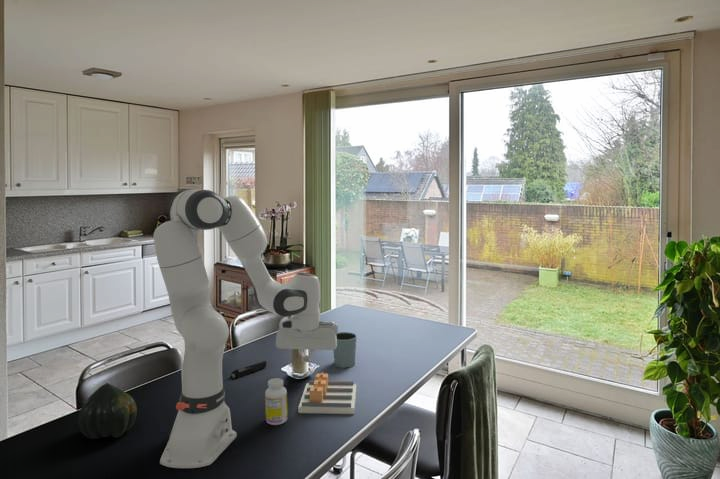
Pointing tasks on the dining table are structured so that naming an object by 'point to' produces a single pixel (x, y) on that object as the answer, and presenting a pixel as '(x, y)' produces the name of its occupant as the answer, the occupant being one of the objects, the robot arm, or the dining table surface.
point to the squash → (107, 413)
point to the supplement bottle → (276, 402)
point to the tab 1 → (322, 377)
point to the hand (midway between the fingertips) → (306, 361)
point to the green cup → (345, 350)
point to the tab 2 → (321, 385)
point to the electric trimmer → (247, 370)
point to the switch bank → (331, 399)
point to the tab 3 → (316, 394)
